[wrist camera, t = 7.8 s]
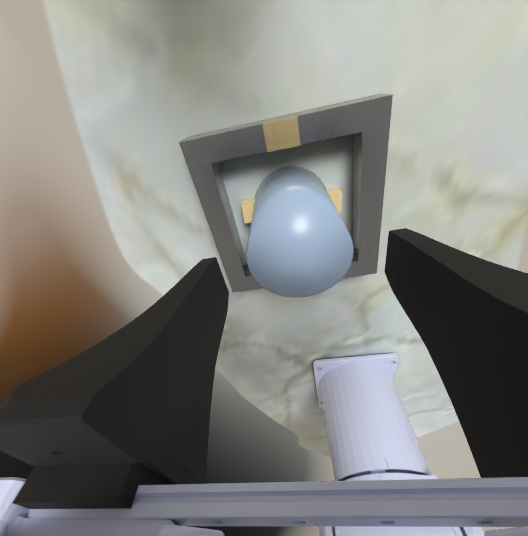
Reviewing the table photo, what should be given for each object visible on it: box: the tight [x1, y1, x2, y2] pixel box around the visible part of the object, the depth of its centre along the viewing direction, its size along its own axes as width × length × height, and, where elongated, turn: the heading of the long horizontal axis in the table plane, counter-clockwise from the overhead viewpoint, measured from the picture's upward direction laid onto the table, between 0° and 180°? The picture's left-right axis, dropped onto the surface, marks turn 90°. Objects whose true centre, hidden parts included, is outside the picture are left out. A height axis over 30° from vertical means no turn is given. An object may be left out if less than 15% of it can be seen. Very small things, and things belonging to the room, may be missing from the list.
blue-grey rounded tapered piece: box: [241, 166, 353, 297], centre depth 13 cm, size 6×4×6 cm
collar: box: [179, 94, 392, 292], centre depth 15 cm, size 10×10×2 cm
